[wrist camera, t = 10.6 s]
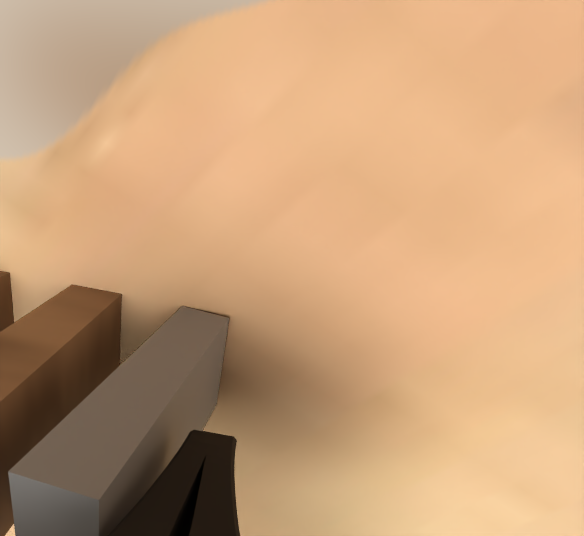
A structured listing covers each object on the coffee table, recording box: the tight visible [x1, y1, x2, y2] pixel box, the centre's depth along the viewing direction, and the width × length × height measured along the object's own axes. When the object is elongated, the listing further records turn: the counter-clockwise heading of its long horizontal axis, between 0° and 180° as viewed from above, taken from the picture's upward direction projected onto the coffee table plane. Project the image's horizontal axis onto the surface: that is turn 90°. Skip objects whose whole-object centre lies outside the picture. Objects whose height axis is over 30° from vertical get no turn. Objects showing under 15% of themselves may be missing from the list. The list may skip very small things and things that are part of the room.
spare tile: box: [8, 306, 229, 536], centre depth 12 cm, size 4×2×8 cm, turn 169°
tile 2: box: [0, 285, 122, 536], centre depth 12 cm, size 4×2×8 cm, turn 169°
